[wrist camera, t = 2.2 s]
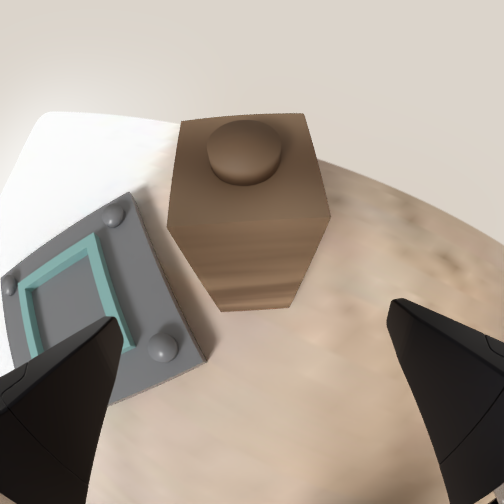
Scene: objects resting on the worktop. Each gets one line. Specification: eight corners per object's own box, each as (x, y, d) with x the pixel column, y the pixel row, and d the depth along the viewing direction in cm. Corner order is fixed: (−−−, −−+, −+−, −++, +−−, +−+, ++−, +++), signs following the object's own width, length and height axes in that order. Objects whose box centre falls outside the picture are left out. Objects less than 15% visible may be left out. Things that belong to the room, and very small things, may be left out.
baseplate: (45, 428, 16) (28, 430, 13) (9, 282, 21) (-6, 274, 19) (207, 362, 19) (199, 361, 16) (135, 200, 24) (125, 185, 22)
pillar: (288, 307, 20) (337, 202, 7) (220, 311, 20) (158, 213, 7) (282, 245, 22) (305, 98, 9) (219, 249, 22) (177, 106, 9)
